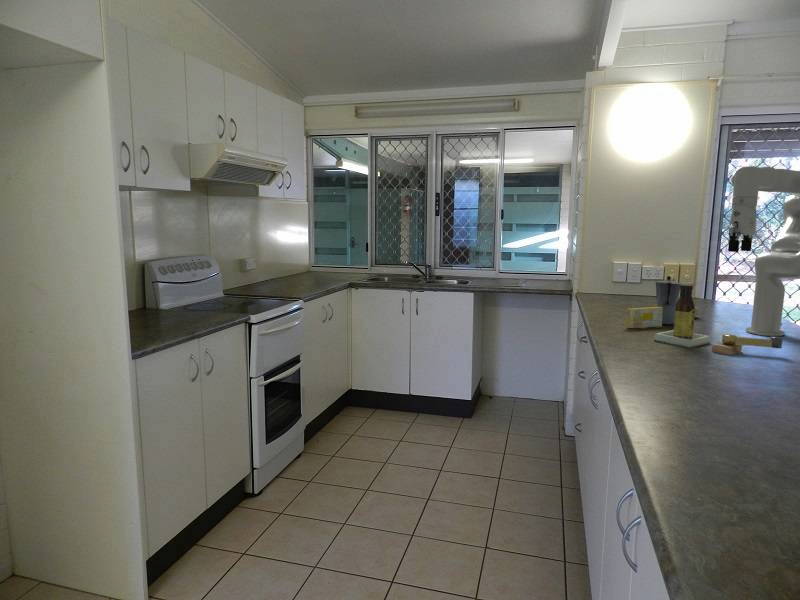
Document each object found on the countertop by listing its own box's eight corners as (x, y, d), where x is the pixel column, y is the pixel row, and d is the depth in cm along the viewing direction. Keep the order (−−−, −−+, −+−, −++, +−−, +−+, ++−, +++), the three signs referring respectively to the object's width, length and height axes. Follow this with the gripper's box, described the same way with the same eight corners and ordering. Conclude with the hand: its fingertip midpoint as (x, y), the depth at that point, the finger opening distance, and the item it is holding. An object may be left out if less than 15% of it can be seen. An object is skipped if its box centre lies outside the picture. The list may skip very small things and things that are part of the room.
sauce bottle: (694, 342, 190) (700, 286, 187) (675, 341, 191) (680, 285, 188) (688, 338, 196) (693, 284, 193) (670, 337, 197) (674, 283, 194)
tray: (673, 336, 202) (673, 329, 202) (709, 343, 192) (710, 336, 191) (654, 340, 195) (654, 333, 195) (690, 347, 184) (691, 340, 184)
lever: (722, 343, 178) (723, 334, 178) (721, 341, 182) (722, 331, 182) (782, 349, 172) (784, 339, 171) (780, 346, 175) (781, 336, 175)
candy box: (658, 326, 222) (659, 306, 221) (662, 327, 220) (663, 307, 219) (625, 328, 217) (627, 308, 216) (629, 329, 215) (630, 309, 214)
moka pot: (675, 321, 233) (679, 275, 230) (680, 327, 219) (685, 278, 216) (650, 319, 236) (654, 274, 234) (655, 326, 222) (659, 277, 219)
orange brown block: (723, 348, 184) (724, 340, 184) (741, 351, 179) (742, 344, 179) (711, 351, 179) (712, 343, 179) (729, 355, 175) (730, 347, 174)
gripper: (745, 201, 183) (739, 252, 185) (767, 203, 192) (761, 251, 195) (721, 202, 189) (716, 251, 191) (744, 203, 198) (739, 250, 201)
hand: (739, 251), depth 193 cm, fingers open, 9 cm apart
